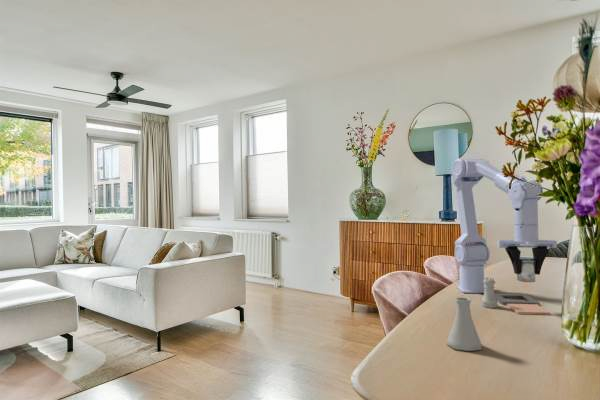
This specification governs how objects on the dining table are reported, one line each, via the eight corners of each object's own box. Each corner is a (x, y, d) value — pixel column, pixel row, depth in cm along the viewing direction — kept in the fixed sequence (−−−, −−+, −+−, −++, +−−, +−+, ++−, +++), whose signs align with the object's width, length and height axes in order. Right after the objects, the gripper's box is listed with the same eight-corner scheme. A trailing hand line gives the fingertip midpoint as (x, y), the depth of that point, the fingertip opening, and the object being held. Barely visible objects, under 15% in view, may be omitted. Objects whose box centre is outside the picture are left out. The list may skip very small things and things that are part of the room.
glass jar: (514, 277, 112) (514, 256, 111) (531, 278, 111) (532, 257, 110) (520, 282, 107) (520, 260, 107) (538, 282, 106) (538, 260, 106)
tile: (507, 305, 113) (506, 303, 113) (537, 306, 111) (537, 304, 111) (517, 313, 105) (517, 311, 105) (550, 314, 104) (550, 312, 104)
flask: (442, 339, 88) (441, 294, 88) (476, 339, 87) (475, 294, 87) (450, 351, 81) (449, 303, 80) (487, 352, 80) (486, 303, 80)
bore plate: (491, 296, 124) (491, 293, 124) (526, 296, 122) (526, 294, 122) (502, 304, 114) (502, 301, 114) (539, 305, 112) (539, 302, 112)
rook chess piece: (500, 308, 110) (499, 280, 110) (483, 308, 111) (482, 279, 111) (495, 304, 114) (495, 277, 114) (479, 303, 115) (478, 276, 115)
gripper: (502, 225, 106) (503, 276, 106) (561, 225, 103) (562, 277, 103) (494, 224, 113) (495, 271, 113) (549, 223, 110) (550, 272, 110)
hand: (526, 273), depth 108 cm, fingers closed on glass jar, 4 cm apart
